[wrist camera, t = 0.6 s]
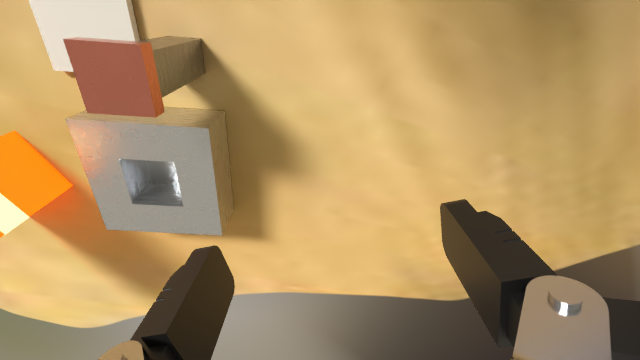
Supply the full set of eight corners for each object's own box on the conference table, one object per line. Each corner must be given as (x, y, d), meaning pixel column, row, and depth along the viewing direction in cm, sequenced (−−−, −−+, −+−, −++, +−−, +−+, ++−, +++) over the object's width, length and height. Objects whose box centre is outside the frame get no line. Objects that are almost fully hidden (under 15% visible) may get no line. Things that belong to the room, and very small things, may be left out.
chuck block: (103, 102, 29) (65, 118, 25) (224, 110, 30) (208, 128, 25) (133, 202, 35) (106, 229, 31) (233, 208, 36) (222, 235, 31)
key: (159, 28, 26) (62, 38, 16) (207, 31, 26) (140, 44, 16) (168, 77, 28) (87, 113, 18) (212, 80, 28) (155, 117, 18)
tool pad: (12, -68, 23) (3, -71, 22) (118, -59, 23) (112, -61, 22) (60, 68, 28) (54, 70, 27) (147, 75, 28) (142, 76, 27)
